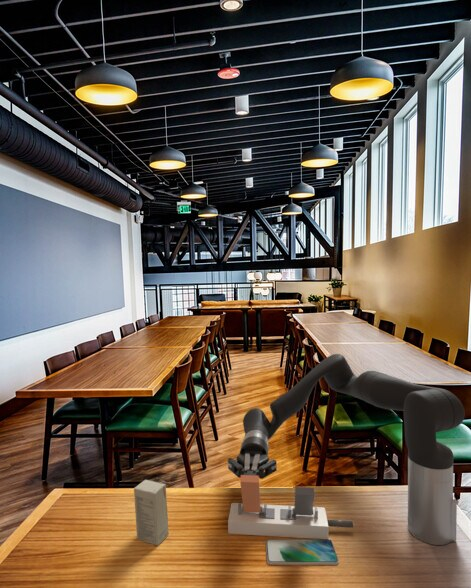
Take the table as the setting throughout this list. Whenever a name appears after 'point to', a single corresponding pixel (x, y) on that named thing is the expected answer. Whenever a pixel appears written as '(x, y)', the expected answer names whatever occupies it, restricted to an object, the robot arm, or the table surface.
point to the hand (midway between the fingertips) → (248, 483)
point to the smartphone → (301, 552)
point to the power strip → (282, 522)
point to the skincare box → (151, 511)
